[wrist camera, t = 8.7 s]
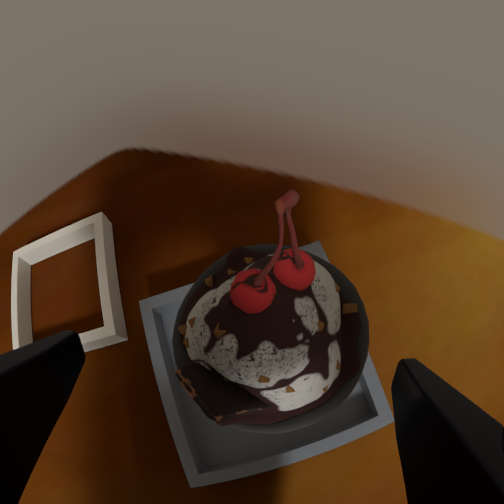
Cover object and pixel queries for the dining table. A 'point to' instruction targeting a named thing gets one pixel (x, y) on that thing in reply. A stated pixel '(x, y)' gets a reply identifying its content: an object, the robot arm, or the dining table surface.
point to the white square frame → (107, 279)
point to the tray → (243, 442)
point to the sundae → (271, 336)
